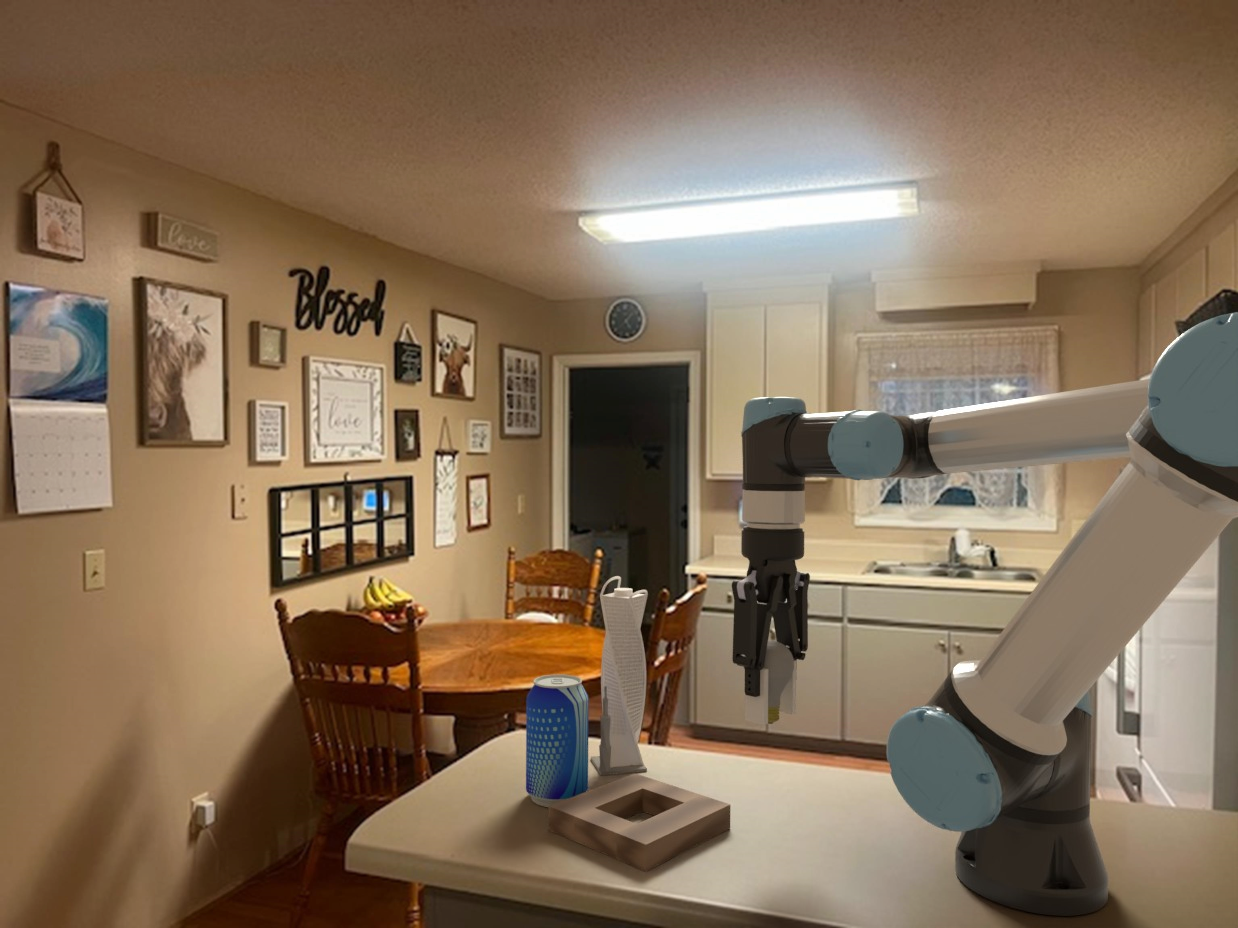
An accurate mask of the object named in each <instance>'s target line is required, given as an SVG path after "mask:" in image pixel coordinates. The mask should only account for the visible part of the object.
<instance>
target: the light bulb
mask: <svg viewBox="0 0 1238 928" xmlns="http://www.w3.org/2000/svg"><path fill="white" fill-rule="evenodd" d="M763 668H766V669H768V724H769V725H772V724H774V723H776V722H778V721H779V720H780V712H779V708H780V698H781V693H782V692H783V690H784V688H785V686H786V685H787V683H788V681H789V680H790V678H791V676H792V674H793V670H794V659H793V656H792V654H791V652H790V650H789V649H788V648H787V647H786V646H785V645H783V644H782V643H779V642H777V640H768V644H767V650H766V656H765V662H764V667H763ZM768 724H767V725H768Z"/></svg>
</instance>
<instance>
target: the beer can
mask: <svg viewBox="0 0 1238 928" xmlns="http://www.w3.org/2000/svg"><path fill="white" fill-rule="evenodd" d="M532 682H533V685H532V687H530V690H529V691H528V694H527V696H526V701H525V702H526V705H525V706H526V709H525V710H526V713H525V714H526V715H525V716H526V718H525V719H526V721H525V722H526V723H525V724H526V725H525V726H526V727H525V728H526V729H525V730H526V731H525V732H526V733H525V737H526V739H525V741H526V742H525V745H526V746H525V747H526V749H525V755H526V756H525V790H526V791H525V792H526V793H527V794H528V795H529V796H530V799H531V801H532V802H533V803H534V804H535V805H537V806H541V807H545V808H549V806H550V805H553V804H555V803H558V802H561V801H563V800H566V799H568V798H571V797H574V796H576V795H579V794H582V793H584V792H587V791H589V704H590V703H589V700H590V699H589V694H588V693H587V691H586V690H585V687H584V686H583V684H582V682H583V680H582V679H581V678H580V677H579V676H576V675H571V674H570V675H569V674H548V675H547V674H546V675H541V676H538V677H536V678H534V679H533V681H532Z"/></svg>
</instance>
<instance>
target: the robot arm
mask: <svg viewBox="0 0 1238 928" xmlns="http://www.w3.org/2000/svg"><path fill="white" fill-rule="evenodd" d="M806 405H807V404H806V402H805V400H803V399H802V398H801V397H800V398H799V397H792V396H791V397H790V396H789V397H788V396H775V397H766V396H765V397H754V398H751V399H749V400H747V402H745V404H744V408H743V417H742V418H743V419H742V429H741V431H740V433H741V434H740V435H741V444H742V445H741V446H742V447H741V449H742V451H741V452H742V485H741V486H742V487H741V488H742V499H741V500H742V505H741V506H742V507H741V508H742V509H741V520H742V522H743V523H746V526H743V528H742V529H741V538H740V539H741V540H740V542H741V545H740V548H741V551H740V553H741V555H742V556H743V558H746V559H748V567H747V571H746V577H744V578H743V579H742V580H738V579H734V580H733V581H732V582H731V589H732V591H731V592H732V595H733V601H734V602H733V605H734V606H733V624H732V625H733V628H732V657H731V658H732V663H733V664H735V665H737V666H740V667H743V669H744V694H745V699H744V700H745V703H744V706H745V707H744V709H745V710H744V713H745V715H744V717H745V718H744V721H745V722H749V723H754V724H756V725H757V724H758V725H762V726H766V725H768V669H766V668H763V667H764V662H765V656H766V650H767V644H768V641H769V637H770V630H771V625H772V619H773V626H774V631H775V633H774V634H775V639H776V640H775V641H777V642H779V643H782V644H783V645H785V646H786V647H787V648H788V649H789V650H790V652H791V654H792V656H793V659H794V670H793V674H792V676H791V678H790V680H789V681H788V683H787V685H786V686H785V688H784V690H783V692H782V693H781V698H780V708H779V713H784V714H787V715H795V714H796V712H797V711H796V710H797V703H796V702H797V699H796V698H797V668H798V667H797V665H798V664H797V660H799V661H804V660H805V658H806V652H807V651H808V649H809V639H808V638H809V633H808V631H809V628H808V627H809V625H808V621H809V618H808V617H809V616H808V614H809V613H808V612H809V611H808V595H809V594H808V591H809V585H810V580H811V574H810V573H809V572H803V571H798V568H797V563H796V561H798V560H800V559H803V558H804V556H805V530H804V529H803V528H802V527H801V525H802V524H804V523H805V522H806V499H805V498H806V493H805V492H806V491H805V490H806V489H805V488H806V485H805V484H806V478H825V479H849V480H853V481H863V480H864V481H870V480H877V479H880V480H881V479H887V478H894V479H895V478H896V479H898V478H899V479H900V478H903V479H927V478H930V477H933V476H942V475H947V474H948V475H949V474H957V473H959V474H960V473H969V472H978V471H992V470H1002V469H1003V470H1004V469H1014V468H1026V467H1036V466H1046V465H1047V466H1049V465H1059V464H1070V463H1081V462H1082V463H1083V462H1093V461H1104V460H1115V459H1124V458H1125V459H1127V458H1130V460H1129V462H1128V464H1127V465H1126V466H1125V467H1124V469H1123V470H1122V472H1120V474H1119V476H1118V477H1117V478H1116V479H1115V481H1114V482H1113V484H1112V485H1111V486H1110V488H1109V489H1108V490H1107V492H1106V493H1105V494H1104V496H1102V498H1101V499H1100V501H1099V502H1098V503H1097V505H1096V506H1095V507H1094V509H1093V510H1092V511H1091V513H1090V514H1089V515H1088V517H1086V520H1085V521H1084V522H1083V523H1082V525H1081V526H1080V527H1079V528H1078V530H1077V531H1076V533H1075V534H1074V535H1073V537H1072V538H1071V539H1070V540H1069V542H1068V543H1067V545H1065V548H1064V549H1063V550H1062V551H1061V552H1060V554H1059V555H1058V557H1057V558H1056V559H1055V560H1054V562H1053V563H1052V565H1051V566H1050V567H1049V569H1048V570H1047V571H1046V573H1044V575H1043V577H1042V578H1041V579H1040V581H1039V582H1038V583H1037V584H1036V586H1035V587H1034V588H1033V590H1032V591H1031V592H1030V594H1029V595H1028V596H1027V598H1025V600H1024V601H1023V603H1022V604H1021V606H1019V608H1018V610H1017V611H1016V612H1015V614H1014V615H1013V616H1012V618H1011V619H1010V621H1009V622H1008V623H1007V625H1006V626H1005V627H1004V628H1003V630H1002V631H1001V632H1000V633H999V635H998V636H997V638H996V639H995V641H994V642H993V643H992V644H991V646H990V647H989V648H988V650H987V651H986V652H985V654H984V655H983V656H982V658H981V659H977V660H975V659H974V660H963V661H960V662H959V663H957V664H956V665H955V666H953V668H952V670H951V671H950V672H949V674H948V675H947V676H946V677H945V679H944V680H943V681H942V683H941V685H940V686H939V687H938V688H937V690H936V691H935V692H934V693H933V695H932V696H931V698H930V699H929V700H928V701H927V702H926V703H925V704H924V705H923V706H916V707H913V708H912V709H908V710H907V712H905V713H904V714H903V715H902V716H900V717H899V718H897V720H896V721H895V722H894V724H893V725H892V726H891V729H890V730H889V733H888V737H887V742H886V759H887V762H888V764H889V767H890V773H889V774H890V776H891V779H892V782H893V784H894V786H895V787H896V789H897V791H898V793H899V794H900V796H901V797H902V799H903V800H904V802H905V803H906V804H907V805H908V806H909V808H911V810H913V812H915V814H917V815H918V816H919V817H920V818H922V819H923V820H924V821H926V822H928V824H931V825H933V826H934V827H937V828H939V829H941V830H945V831H946V830H947V831H949V832H955V833H957V832H959V833H960V835H959V838H958V841H957V843H956V846H955V851H954V852H955V855H954V856H955V858H954V859H955V861H954V862H955V863H954V868H955V874H956V876H957V877H958V879H959V881H961V882H962V884H964V885H965V886H966V887H967V888H968V889H970V890H971V891H972V892H975V893H976V894H977V895H979V896H981V897H984V898H985V899H988V900H990V901H992V902H994V903H997V904H1000V905H1002V906H1005V907H1009V908H1012V909H1015V910H1019V911H1023V912H1027V913H1028V912H1029V913H1034V914H1038V915H1045V916H1047V915H1048V916H1061V917H1064V916H1065V917H1066V916H1067V917H1069V916H1082V915H1086V914H1090V913H1094V912H1098V911H1099V910H1101V909H1102V908H1103V907H1105V905H1106V904H1107V903H1108V899H1109V876H1108V872H1107V868H1106V866H1105V865H1106V864H1105V862H1104V860H1103V857H1102V853H1101V851H1100V847H1099V845H1098V842H1097V838H1096V836H1095V833H1094V829H1093V827H1092V824H1091V815H1090V813H1091V811H1090V810H1091V758H1092V757H1091V756H1092V754H1091V752H1092V751H1091V749H1092V746H1091V745H1092V744H1091V743H1092V741H1091V740H1092V718H1093V715H1094V714H1093V710H1092V708H1091V693H1090V689H1091V688H1092V687H1093V686H1094V684H1095V683H1096V682H1097V681H1098V680H1099V678H1100V677H1101V676H1102V675H1103V673H1104V672H1106V670H1107V669H1108V668H1109V666H1110V665H1111V664H1112V663H1113V662H1114V661H1115V659H1116V658H1117V657H1118V656H1119V654H1120V653H1121V652H1122V651H1124V649H1125V647H1126V646H1127V645H1128V644H1129V643H1130V641H1131V640H1132V639H1133V638H1134V636H1136V634H1137V633H1138V632H1139V631H1140V630H1141V628H1143V626H1144V625H1145V624H1146V622H1147V621H1148V620H1149V619H1150V618H1151V617H1152V615H1153V614H1154V613H1155V612H1156V611H1157V609H1158V608H1159V607H1160V606H1161V605H1162V604H1163V602H1164V601H1165V600H1166V599H1167V597H1169V595H1170V594H1171V592H1172V591H1174V589H1175V588H1176V587H1177V585H1178V584H1179V583H1180V582H1181V581H1182V579H1183V578H1185V576H1186V575H1187V573H1188V572H1189V571H1190V570H1191V569H1192V568H1193V567H1194V566H1195V564H1196V563H1197V562H1198V561H1199V560H1200V558H1202V556H1203V555H1204V554H1205V552H1206V551H1207V550H1208V549H1209V547H1211V545H1212V544H1213V543H1214V542H1215V540H1217V538H1218V537H1219V536H1220V534H1221V533H1222V532H1223V531H1224V530H1225V529H1226V528H1227V526H1228V525H1229V524H1230V523H1231V521H1232V520H1234V519H1237V518H1238V311H1235V312H1231V313H1226V314H1221V315H1218V316H1214V317H1211V318H1209V319H1207V320H1204V321H1202V322H1200V323H1198V324H1196V325H1194V326H1192V327H1190V328H1189V329H1188V330H1186V331H1184V332H1183V333H1181V335H1179V336H1178V337H1176V339H1174V340H1173V341H1172V342H1171V343H1170V344H1169V345H1168V346H1167V347H1166V349H1164V351H1163V352H1162V354H1161V355H1160V356H1159V358H1158V359H1157V361H1156V363H1155V365H1154V367H1153V369H1152V371H1151V373H1150V378H1147V379H1139V380H1133V381H1127V382H1120V383H1119V382H1118V383H1113V384H1107V385H1106V384H1105V385H1100V386H1094V387H1088V388H1087V387H1086V388H1080V389H1079V388H1078V389H1074V390H1067V391H1061V392H1055V393H1054V392H1053V393H1048V394H1040V395H1035V396H1028V397H1021V398H1016V399H1007V400H1001V401H997V402H996V401H995V402H988V403H981V404H976V405H968V406H960V407H954V408H949V409H943V410H937V411H928V412H921V413H915V414H909V415H908V414H906V415H893V414H892V415H891V414H889V413H888V412H885V411H881V410H878V411H877V410H875V411H873V410H869V409H868V410H867V409H866V410H864V409H863V410H862V409H857V410H856V409H854V410H851V411H834V412H819V413H811V412H807V407H806ZM804 652H805V653H804Z"/></svg>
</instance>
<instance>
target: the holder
mask: <svg viewBox="0 0 1238 928" xmlns="http://www.w3.org/2000/svg"><path fill="white" fill-rule="evenodd" d="M643 812H644V813H646V814H649V815H652V817H650V818H647V819H645V820H643V821H640V822H638V823H635V822H633V821H629V820H627V819H628V818H631V817H632V816H635V815H637V814H640V813H643ZM730 829H731V804H730V803H727V802H724V801H722V800H718V799H714V798H711V797H709V796H706V795H703V794H699V793H697V792H693V791H690V790H687V789H684V788H682V787H678V786H676V785H673V784H669V783H666V782H663V781H660V780H657V779H654V778H650V777H648V776H644V775H641V774H638V773H637V772H635V773H630V774H628V775H627V776H623V777H621V778H617V779H615V780H613V781H609V782H608V783H605V784H603V785H600V786H598V787H595V788H592V789H590V790H589V789H588V790H587V792H584V793H582V794H579V795H576V796H574V797H571V798H568V799H566V800H563V801H561V802H558V803H555V804H553V805H550V806H549V807H548V831H549V832H552V833H554V834H557V835H558V836H561V837H563V838H566V839H568V840H571V841H573V842H575V843H578V844H580V845H583V846H585V847H587V848H590V849H592V850H594V851H597V852H599V853H601V854H603V855H606V856H609V857H611V858H613V859H614V860H615V859H616V860H618V861H620V862H622V863H625V864H627V865H629V866H632V867H634V868H636V869H639V870H642V871H643V872H648V871H650V870H651V869H654V868H656V867H658V866H660V865H661V864H663V863H665V862H667V861H670V860H672V859H673V858H675V857H677V856H679V855H681V854H683V853H685V852H687V851H689V850H691V849H693V848H694V847H697V846H699V845H700V844H703V843H705V842H707V841H709V840H710V839H712V838H715V837H716V836H718V835H720V834H722V833H725V832H726V831H729V830H730Z"/></svg>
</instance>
